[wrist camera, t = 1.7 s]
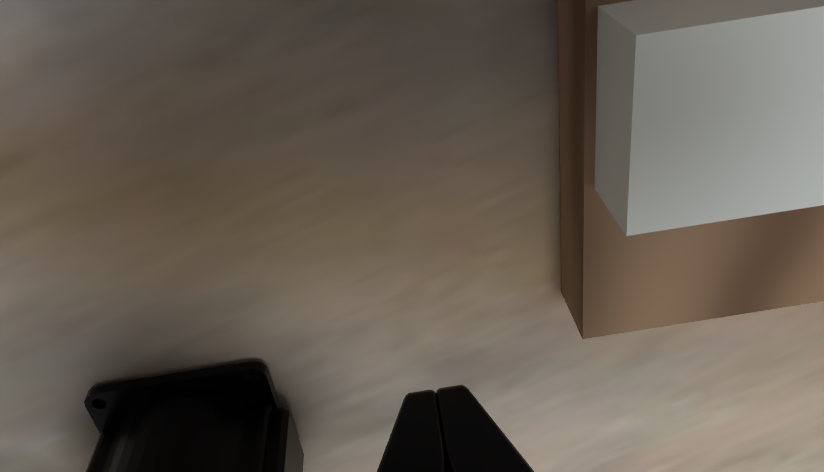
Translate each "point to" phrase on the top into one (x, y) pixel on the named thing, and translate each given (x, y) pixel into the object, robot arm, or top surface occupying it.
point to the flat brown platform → (668, 249)
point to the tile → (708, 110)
